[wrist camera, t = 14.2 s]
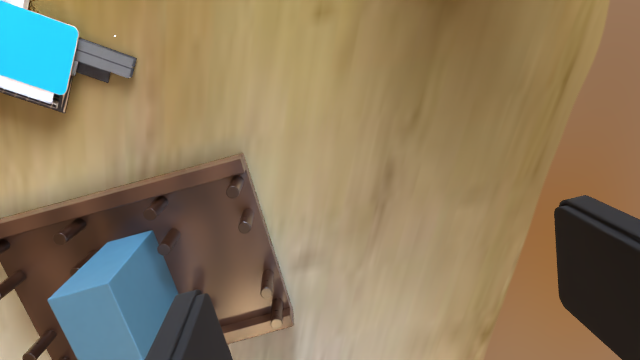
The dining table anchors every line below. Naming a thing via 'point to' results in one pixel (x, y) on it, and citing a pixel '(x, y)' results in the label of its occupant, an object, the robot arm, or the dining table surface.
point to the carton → (116, 300)
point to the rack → (174, 244)
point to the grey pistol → (49, 57)
